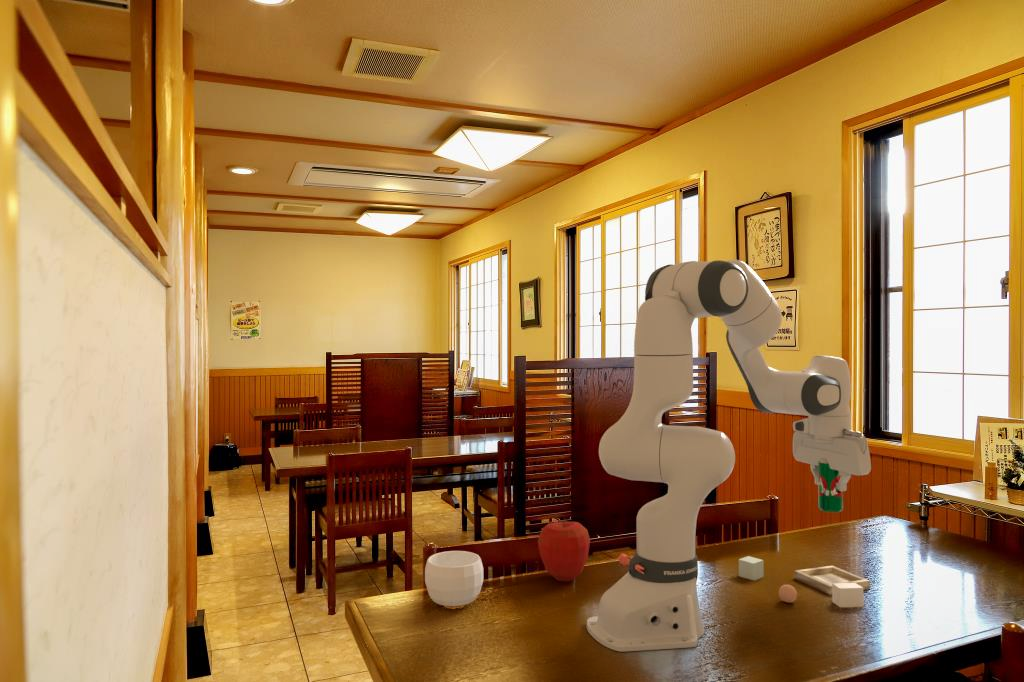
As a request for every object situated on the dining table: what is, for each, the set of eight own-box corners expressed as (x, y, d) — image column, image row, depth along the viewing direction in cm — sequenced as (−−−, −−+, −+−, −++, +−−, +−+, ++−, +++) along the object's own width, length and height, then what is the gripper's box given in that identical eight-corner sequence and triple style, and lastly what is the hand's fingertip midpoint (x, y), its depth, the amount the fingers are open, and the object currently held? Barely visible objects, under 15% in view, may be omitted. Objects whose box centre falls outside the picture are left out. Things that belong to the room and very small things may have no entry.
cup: (412, 605, 144) (412, 559, 144) (456, 589, 153) (455, 546, 153) (452, 621, 136) (452, 572, 136) (495, 603, 145) (495, 557, 145)
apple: (578, 567, 168) (577, 510, 168) (599, 583, 156) (599, 522, 156) (530, 573, 164) (530, 514, 164) (549, 590, 152) (548, 527, 152)
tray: (829, 594, 149) (829, 586, 149) (794, 578, 159) (794, 570, 159) (869, 588, 152) (869, 580, 152) (832, 573, 163) (832, 565, 163)
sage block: (753, 580, 158) (753, 563, 158) (738, 576, 161) (738, 559, 161) (763, 577, 160) (763, 560, 160) (748, 572, 164) (748, 556, 164)
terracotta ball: (786, 606, 142) (786, 588, 142) (775, 600, 146) (774, 583, 146) (800, 604, 143) (800, 586, 143) (789, 598, 147) (788, 581, 147)
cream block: (840, 607, 142) (839, 588, 142) (832, 602, 145) (832, 583, 145) (863, 607, 142) (863, 587, 142) (855, 601, 145) (855, 582, 145)
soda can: (844, 509, 157) (843, 456, 156) (841, 514, 152) (841, 460, 152) (820, 506, 159) (819, 455, 159) (816, 511, 155) (816, 458, 155)
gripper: (878, 432, 147) (878, 496, 147) (809, 420, 166) (809, 477, 166) (854, 433, 145) (855, 499, 145) (787, 422, 164) (788, 479, 164)
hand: (830, 487), depth 156 cm, fingers closed on soda can, 5 cm apart
